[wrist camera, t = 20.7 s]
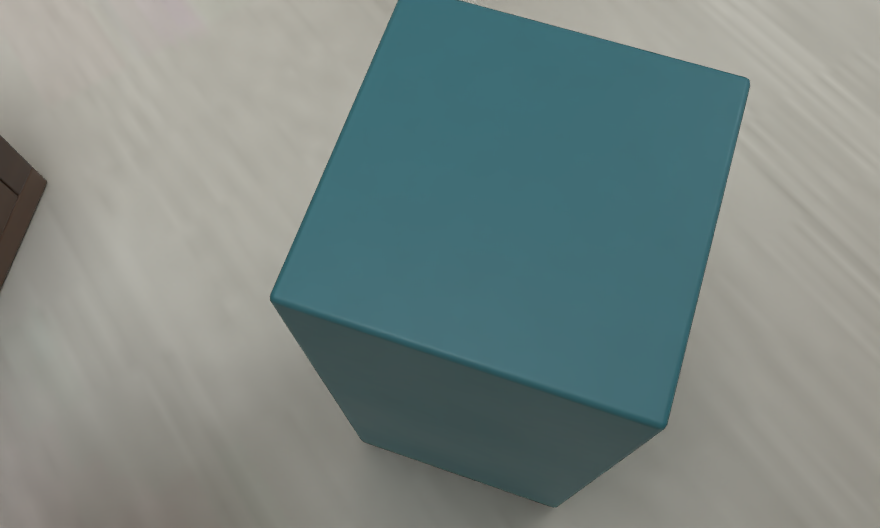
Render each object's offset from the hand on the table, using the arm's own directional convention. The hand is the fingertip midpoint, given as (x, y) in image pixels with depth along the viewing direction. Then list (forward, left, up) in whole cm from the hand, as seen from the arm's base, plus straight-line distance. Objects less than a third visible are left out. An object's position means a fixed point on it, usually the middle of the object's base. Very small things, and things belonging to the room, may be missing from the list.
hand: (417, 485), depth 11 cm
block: (-2, -3, -10) cm, 10 cm away
